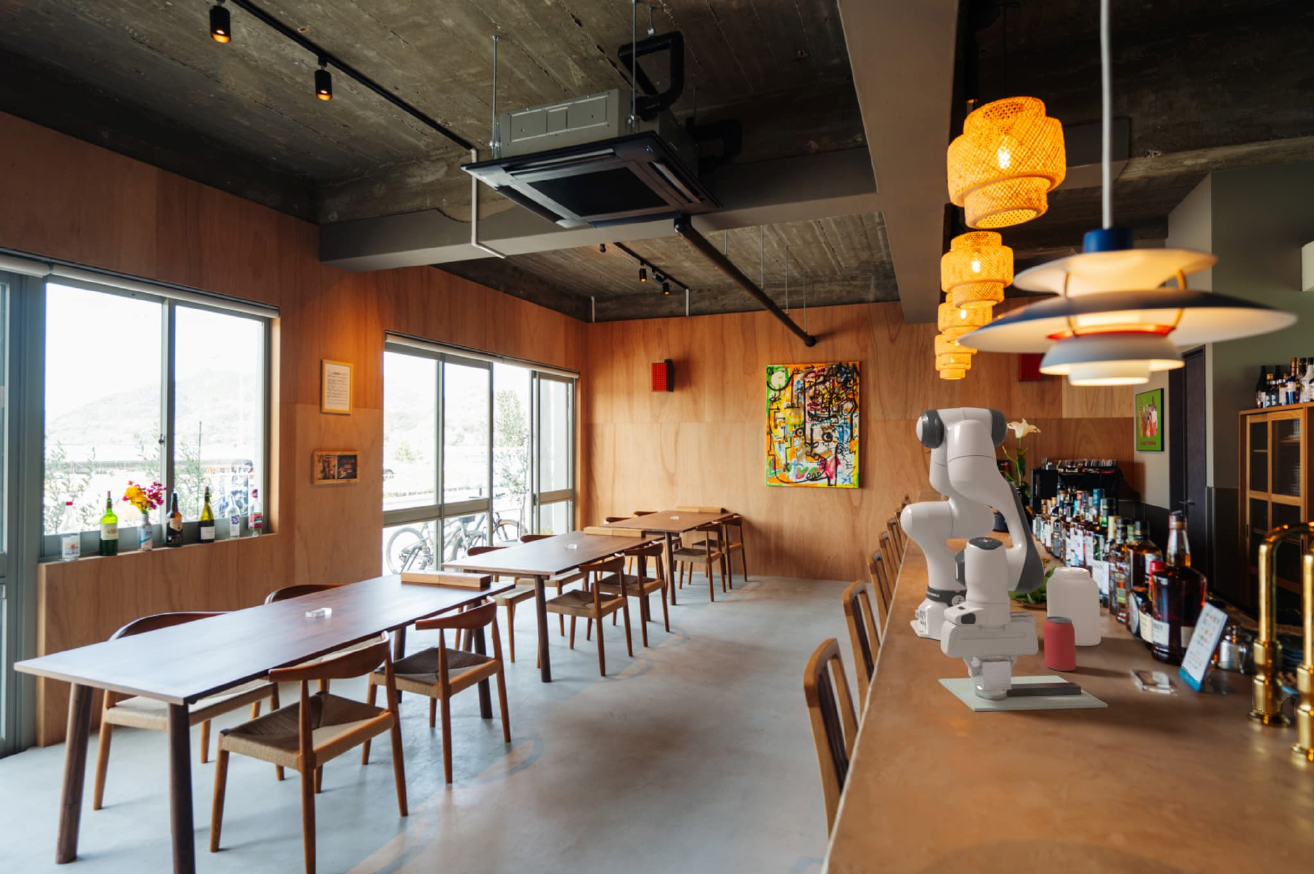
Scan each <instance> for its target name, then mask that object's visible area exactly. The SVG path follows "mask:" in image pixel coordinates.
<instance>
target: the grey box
mask: <svg viewBox="0 0 1314 874" xmlns="http://www.w3.org/2000/svg"><path fill="white" fill-rule="evenodd" d="M971 663H972V665H973V667H976V668H977V669H978V671H979V672H978V674H979V676H978V677H971V676H970V678H971V681H972V682H973V683H975V684H976V685H977V686H979V687H980V688H981V689H983V690H1008V689H1012V688H1011V677H1012V676H1011V661H1009V660H1008V658H1007V657H1005V656H986V657H973V662H971Z"/></svg>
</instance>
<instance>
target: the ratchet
mask: <svg viewBox="0 0 1314 874" xmlns="http://www.w3.org/2000/svg"><path fill="white" fill-rule="evenodd" d="M1011 688H1012V689H1008V690H983V689H981V688H980V687H979V686H977V685H976V684H975V694H976V695H977V696H978V697H980V698H983V699H987V700H994V701H1000V700H1005V699H1007V697H1028V696H1061V695H1081V689H1082V686H1081V685H1080V684H1077V683H1076V682H1073V681H1070V682H1069V681H1067V682H1062V683H1028V684H1011Z"/></svg>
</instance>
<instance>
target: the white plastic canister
mask: <svg viewBox="0 0 1314 874" xmlns="http://www.w3.org/2000/svg"><path fill="white" fill-rule="evenodd" d="M1100 604H1101V603H1100V588H1099V585H1098V582H1097V581H1096V580H1095V579H1094V578H1093V577H1091V572H1090V570H1089V569H1086V568H1083V567H1075V566H1073V567H1072V566H1059V568H1055V570H1054V574H1053V575H1052V576H1051V577H1050V578H1049V579H1048V581H1047V608H1046V611H1047V617H1051V616H1056V617H1065V618H1069V619H1071V620H1072V624H1073V626H1074V629H1075V647H1076V646H1077V647H1091V646H1097V645H1099V644H1100V643H1101V641H1102V635H1101V610H1100V609H1101V607H1100Z"/></svg>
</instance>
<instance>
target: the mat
mask: <svg viewBox="0 0 1314 874" xmlns="http://www.w3.org/2000/svg"><path fill="white" fill-rule="evenodd" d="M1062 682H1068V680H1065V679H1064V678H1062V677H1060V676H1059V675H1032V676H1031V675H1028V676H1027V675H1025V676H1024V675H1023V676H1011V684H1028V683H1062ZM938 683H939V684H941V686H943V687H944V688H946V689H947V690H949V691H950V692H951V693H952V694H953V695H954V696H955V697H957V698H958V699H959V700H960V701H962V702H963V704H965V705H967V706H968V708H969V709H971V710H972V711H974V712H991V711H992V712H995V711H996V712H997V711H1026V710H1032V711H1033V710H1055V709H1056V710H1059V709H1089V708H1090V709H1091V708H1093V709H1094V708H1095V709H1096V708H1097V709H1098V708H1108V707H1109V706H1108V703H1107V702H1104V701H1102V700H1101V699H1099V698H1097V697H1095V696H1093V695H1092V694H1091V693H1088V692H1087V691H1085V690H1083V689H1082V688H1081V695H1061V696H1028V697H1007V699H1005V700H1000V701H994V700H987V699H983V698H980V697H978V696H977V695H976V694H975V683H973V682H972V681H971V677H966V678H963V677H962V678H938Z"/></svg>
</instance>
